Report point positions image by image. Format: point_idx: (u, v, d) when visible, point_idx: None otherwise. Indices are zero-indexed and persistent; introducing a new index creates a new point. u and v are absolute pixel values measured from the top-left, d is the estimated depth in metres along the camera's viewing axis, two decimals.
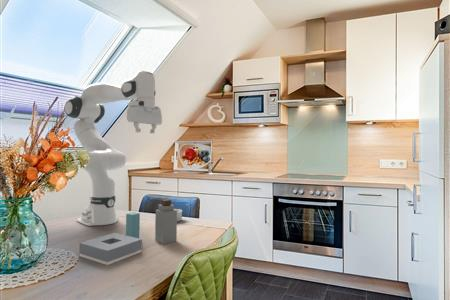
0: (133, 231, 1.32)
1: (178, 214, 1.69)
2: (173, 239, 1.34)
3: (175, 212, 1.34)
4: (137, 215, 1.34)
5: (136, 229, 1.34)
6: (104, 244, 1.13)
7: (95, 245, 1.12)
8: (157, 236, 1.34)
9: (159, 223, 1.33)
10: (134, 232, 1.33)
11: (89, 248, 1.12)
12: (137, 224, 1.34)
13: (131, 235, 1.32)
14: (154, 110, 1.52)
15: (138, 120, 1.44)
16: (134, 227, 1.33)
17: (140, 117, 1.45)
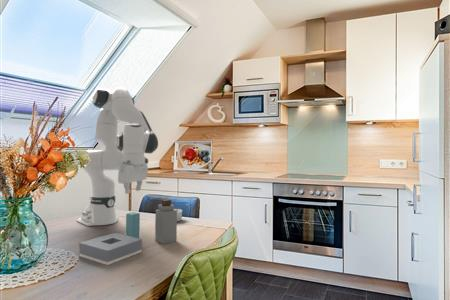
0: (133, 231, 1.32)
1: (178, 214, 1.69)
2: (173, 239, 1.34)
3: (175, 212, 1.34)
4: (137, 215, 1.34)
5: (136, 229, 1.34)
6: (104, 244, 1.13)
7: (95, 245, 1.12)
8: (157, 236, 1.34)
9: (159, 223, 1.33)
10: (134, 232, 1.33)
11: (89, 248, 1.12)
12: (137, 224, 1.34)
13: (131, 235, 1.32)
14: None
15: None
16: (134, 227, 1.33)
17: None
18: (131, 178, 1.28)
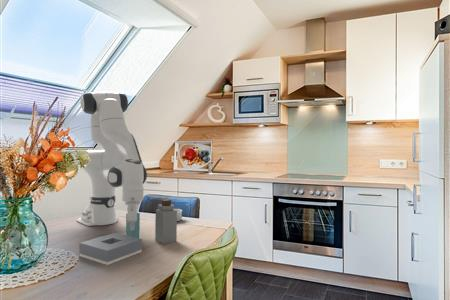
0: (133, 231, 1.32)
1: (178, 214, 1.69)
2: (173, 239, 1.34)
3: (175, 212, 1.34)
4: (137, 215, 1.34)
5: (136, 229, 1.34)
6: (104, 244, 1.13)
7: (95, 245, 1.12)
8: (157, 236, 1.34)
9: (159, 223, 1.33)
10: (134, 232, 1.33)
11: (89, 248, 1.12)
12: (137, 224, 1.34)
13: (131, 235, 1.32)
14: None
15: None
16: None
17: None
18: None
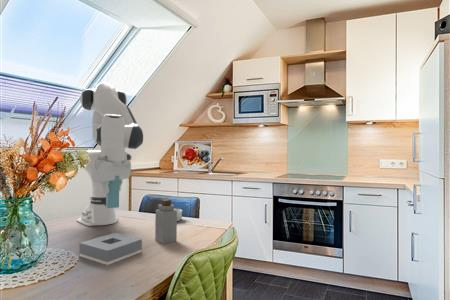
0: (110, 195, 1.15)
1: (178, 214, 1.69)
2: (173, 239, 1.34)
3: (175, 212, 1.34)
4: (115, 178, 1.16)
5: (114, 194, 1.16)
6: (104, 244, 1.13)
7: (95, 245, 1.12)
8: (157, 236, 1.34)
9: (159, 223, 1.33)
10: (111, 196, 1.15)
11: (89, 248, 1.12)
12: (116, 188, 1.16)
13: (107, 199, 1.15)
14: None
15: None
16: (110, 191, 1.15)
17: None
18: (108, 176, 1.12)
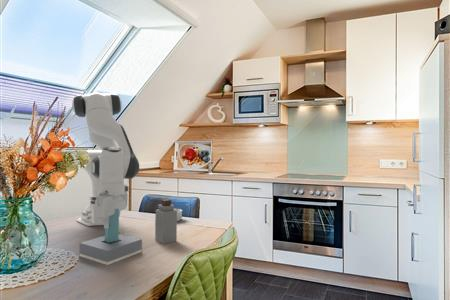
0: (110, 229, 1.15)
1: (178, 214, 1.69)
2: (173, 239, 1.34)
3: (175, 212, 1.34)
4: (115, 211, 1.16)
5: (114, 227, 1.16)
6: (104, 244, 1.13)
7: (95, 245, 1.12)
8: (157, 236, 1.34)
9: (159, 223, 1.33)
10: (111, 230, 1.16)
11: (89, 248, 1.12)
12: (115, 222, 1.16)
13: (107, 234, 1.15)
14: None
15: None
16: (110, 225, 1.15)
17: None
18: (109, 212, 1.12)
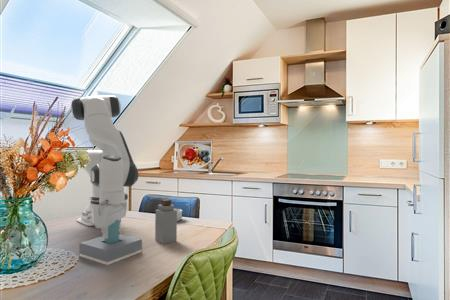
0: (110, 240, 1.15)
1: (178, 214, 1.69)
2: (173, 239, 1.34)
3: (175, 212, 1.34)
4: (115, 222, 1.17)
5: (114, 239, 1.16)
6: (104, 244, 1.13)
7: (95, 245, 1.12)
8: (157, 236, 1.34)
9: (159, 223, 1.33)
10: (111, 241, 1.16)
11: (89, 248, 1.12)
12: (115, 233, 1.17)
13: None
14: None
15: None
16: (111, 236, 1.16)
17: None
18: (109, 221, 1.12)
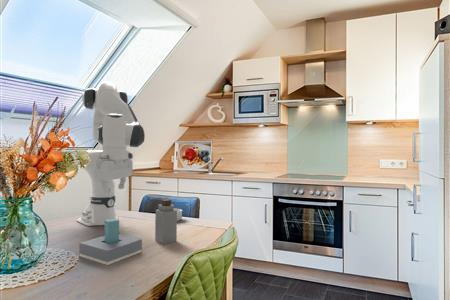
0: (110, 240, 1.15)
1: (178, 214, 1.70)
2: (173, 239, 1.34)
3: (175, 212, 1.34)
4: (115, 222, 1.17)
5: (114, 239, 1.16)
6: (104, 244, 1.13)
7: (95, 245, 1.12)
8: (157, 236, 1.34)
9: (159, 223, 1.33)
10: (111, 241, 1.16)
11: (89, 248, 1.12)
12: (115, 233, 1.17)
13: None
14: None
15: None
16: (111, 236, 1.16)
17: None
18: (109, 175, 1.14)
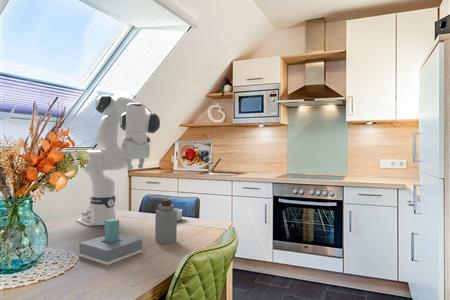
0: (110, 240, 1.15)
1: (178, 213, 1.70)
2: (173, 239, 1.34)
3: (175, 212, 1.34)
4: (115, 222, 1.17)
5: (114, 239, 1.16)
6: (104, 244, 1.13)
7: (95, 245, 1.12)
8: (157, 236, 1.34)
9: (159, 223, 1.33)
10: (111, 241, 1.16)
11: (89, 248, 1.12)
12: (115, 233, 1.17)
13: None
14: None
15: None
16: (111, 236, 1.16)
17: None
18: (133, 155, 1.33)
